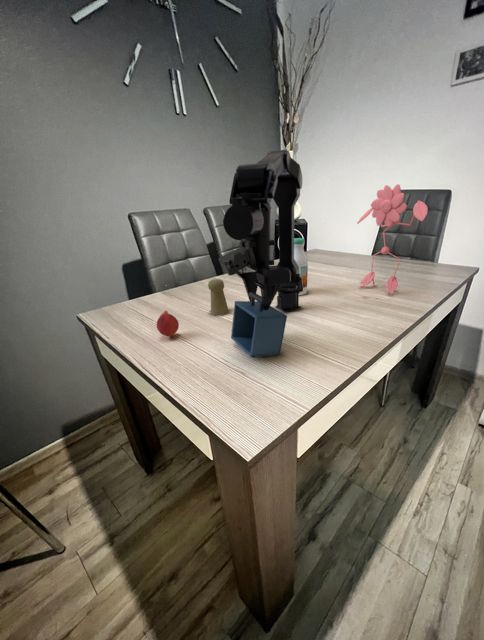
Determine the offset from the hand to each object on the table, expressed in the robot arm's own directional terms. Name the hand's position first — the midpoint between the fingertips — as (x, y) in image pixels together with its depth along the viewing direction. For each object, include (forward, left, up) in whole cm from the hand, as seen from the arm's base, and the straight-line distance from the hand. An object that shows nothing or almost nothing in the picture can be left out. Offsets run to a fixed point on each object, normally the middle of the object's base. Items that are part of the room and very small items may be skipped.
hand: (258, 305), depth 65 cm
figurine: (-56, -14, -12) cm, 59 cm away
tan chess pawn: (0, -30, -12) cm, 32 cm away
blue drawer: (-4, 0, -5) cm, 6 cm away
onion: (+19, -20, -12) cm, 30 cm away
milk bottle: (-33, -31, -12) cm, 47 cm away
